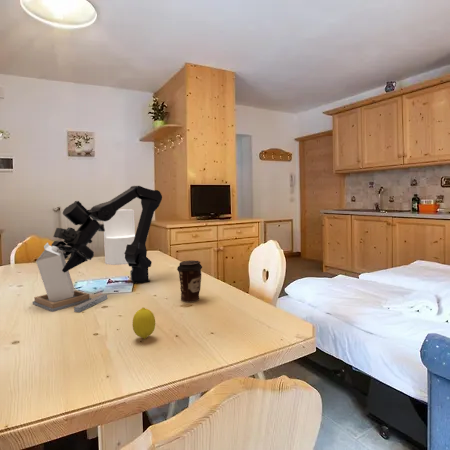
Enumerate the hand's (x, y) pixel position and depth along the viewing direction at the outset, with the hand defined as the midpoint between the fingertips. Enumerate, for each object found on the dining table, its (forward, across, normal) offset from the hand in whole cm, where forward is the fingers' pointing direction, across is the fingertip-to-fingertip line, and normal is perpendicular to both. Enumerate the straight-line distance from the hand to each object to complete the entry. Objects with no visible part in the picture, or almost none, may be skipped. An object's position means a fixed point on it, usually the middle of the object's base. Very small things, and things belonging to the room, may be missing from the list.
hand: (56, 269), depth 113 cm
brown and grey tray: (+7, 0, +9) cm, 12 cm away
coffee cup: (-11, +35, +28) cm, 46 cm away
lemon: (+10, +47, +7) cm, 48 cm away
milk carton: (+6, 0, +8) cm, 10 cm away
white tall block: (-32, -44, +48) cm, 72 cm away
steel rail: (+4, +11, +12) cm, 17 cm away
